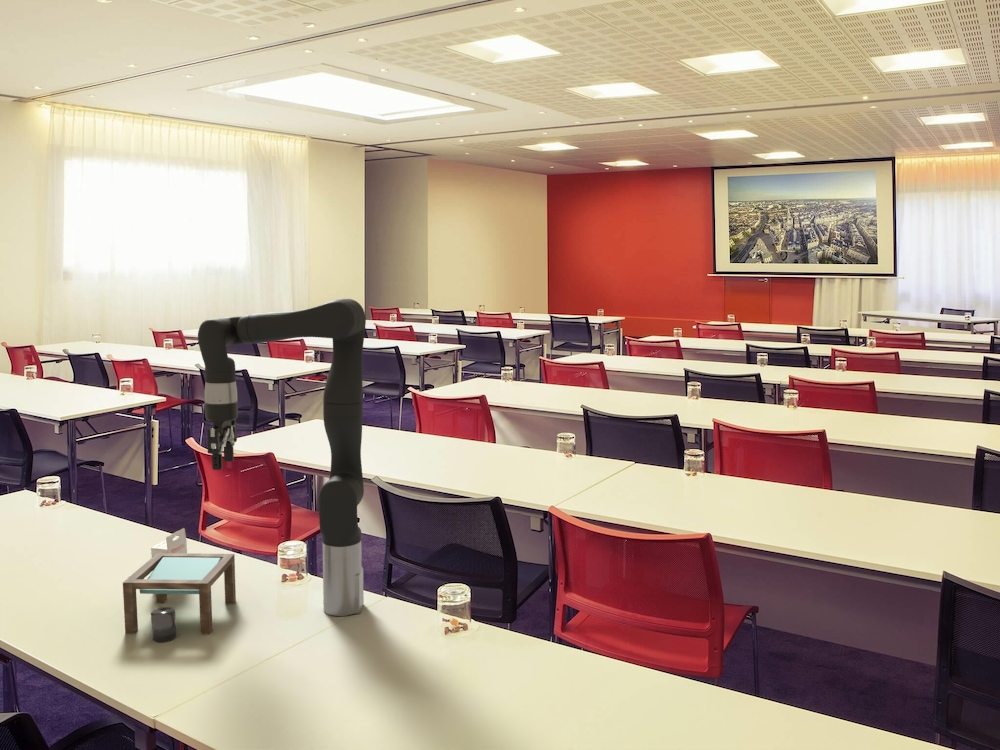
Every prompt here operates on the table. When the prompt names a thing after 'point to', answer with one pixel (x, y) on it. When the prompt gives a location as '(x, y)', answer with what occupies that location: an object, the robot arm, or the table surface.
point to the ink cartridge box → (172, 544)
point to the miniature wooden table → (180, 587)
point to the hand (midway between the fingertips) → (223, 465)
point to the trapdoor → (180, 572)
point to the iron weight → (163, 624)
